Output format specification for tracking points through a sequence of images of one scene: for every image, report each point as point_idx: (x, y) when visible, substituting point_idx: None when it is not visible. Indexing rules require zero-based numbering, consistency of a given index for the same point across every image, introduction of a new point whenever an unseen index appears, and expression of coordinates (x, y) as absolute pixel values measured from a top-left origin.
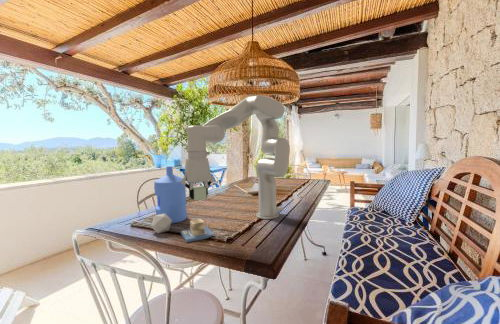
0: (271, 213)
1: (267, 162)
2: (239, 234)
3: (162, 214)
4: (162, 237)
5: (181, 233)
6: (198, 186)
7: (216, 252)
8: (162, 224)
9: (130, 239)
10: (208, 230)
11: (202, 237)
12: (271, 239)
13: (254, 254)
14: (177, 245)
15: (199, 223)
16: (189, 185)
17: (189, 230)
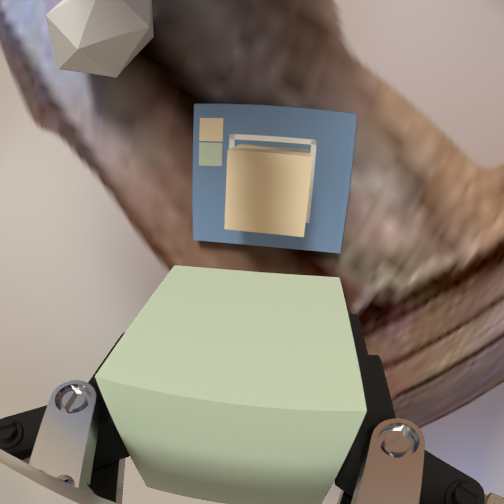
0: None
1: None
2: (438, 287)
3: (82, 4)
4: (112, 116)
5: (195, 128)
6: (247, 438)
7: None
8: (92, 69)
9: (20, 88)
10: (337, 189)
11: (276, 245)
12: (469, 372)
13: None
14: (157, 242)
15: (271, 232)
16: (59, 441)
17: (241, 125)
